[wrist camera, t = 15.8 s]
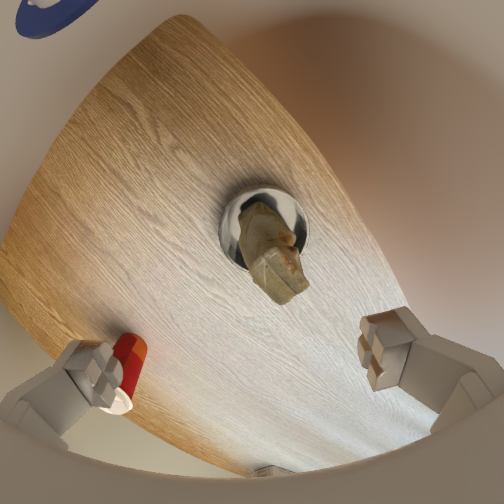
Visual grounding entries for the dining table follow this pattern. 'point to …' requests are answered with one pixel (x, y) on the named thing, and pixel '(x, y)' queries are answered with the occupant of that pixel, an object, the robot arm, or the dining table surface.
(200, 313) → the dining table surface
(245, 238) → the sculpture
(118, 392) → the paper cup
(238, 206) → the grey metal round dish
